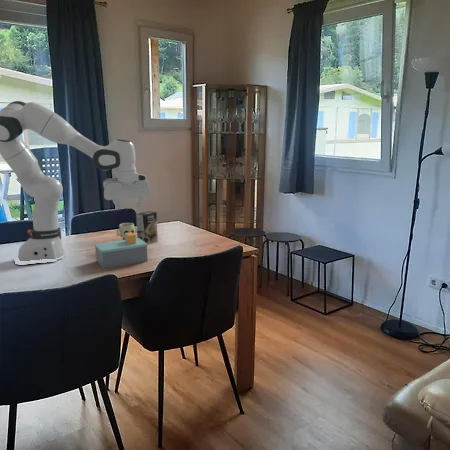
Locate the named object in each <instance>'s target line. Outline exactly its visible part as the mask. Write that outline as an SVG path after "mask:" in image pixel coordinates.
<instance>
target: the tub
mask: <svg viewBox="0 0 450 450" xmlns="http://www.w3.org/2000/svg"><path fill="white" fill-rule="evenodd" d="M94 247H95V246H94ZM148 257H149V256H148V245H147V246H144V247H138V248H131V249H125V250H118V251H112V252H105V253H102V252H100V251H99V250H98V249H97V248H96V247H95V258H96V263H97V264H98V265H99V266H100V267H101V268H102V270H106V269H110V268H117V267H123V266H128V265H135V264H139V263H146V262H148Z"/></svg>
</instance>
